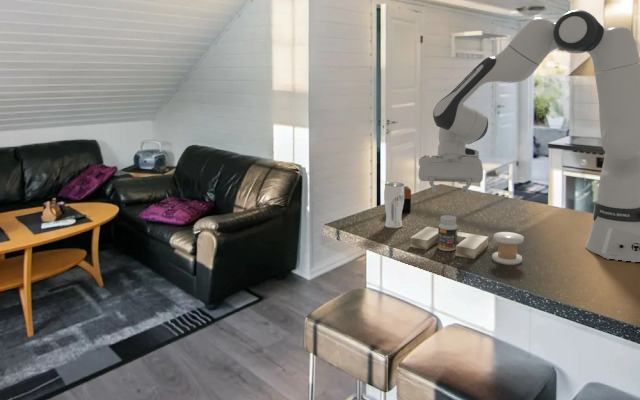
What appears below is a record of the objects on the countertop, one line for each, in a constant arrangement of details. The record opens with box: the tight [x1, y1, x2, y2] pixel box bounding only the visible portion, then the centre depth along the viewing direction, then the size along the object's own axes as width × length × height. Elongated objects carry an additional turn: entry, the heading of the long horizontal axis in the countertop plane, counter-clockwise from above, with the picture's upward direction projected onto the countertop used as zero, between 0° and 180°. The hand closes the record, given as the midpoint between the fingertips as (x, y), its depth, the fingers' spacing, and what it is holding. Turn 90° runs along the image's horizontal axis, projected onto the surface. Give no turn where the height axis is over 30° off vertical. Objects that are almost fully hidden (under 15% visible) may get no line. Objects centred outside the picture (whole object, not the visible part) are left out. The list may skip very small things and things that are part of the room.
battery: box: [402, 185, 412, 214], centre depth 194 cm, size 4×7×10 cm, turn 90°
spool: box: [491, 231, 525, 266], centre depth 144 cm, size 8×8×7 cm
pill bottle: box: [436, 214, 458, 252], centre depth 153 cm, size 6×6×10 cm
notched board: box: [409, 226, 489, 260], centre depth 156 cm, size 20×13×3 cm, turn 55°
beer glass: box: [383, 181, 405, 230], centre depth 176 cm, size 7×7×15 cm
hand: (449, 191), depth 161 cm, fingers open, 8 cm apart
